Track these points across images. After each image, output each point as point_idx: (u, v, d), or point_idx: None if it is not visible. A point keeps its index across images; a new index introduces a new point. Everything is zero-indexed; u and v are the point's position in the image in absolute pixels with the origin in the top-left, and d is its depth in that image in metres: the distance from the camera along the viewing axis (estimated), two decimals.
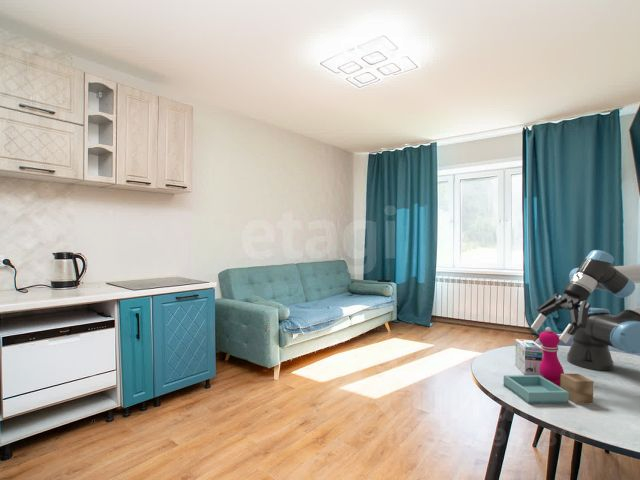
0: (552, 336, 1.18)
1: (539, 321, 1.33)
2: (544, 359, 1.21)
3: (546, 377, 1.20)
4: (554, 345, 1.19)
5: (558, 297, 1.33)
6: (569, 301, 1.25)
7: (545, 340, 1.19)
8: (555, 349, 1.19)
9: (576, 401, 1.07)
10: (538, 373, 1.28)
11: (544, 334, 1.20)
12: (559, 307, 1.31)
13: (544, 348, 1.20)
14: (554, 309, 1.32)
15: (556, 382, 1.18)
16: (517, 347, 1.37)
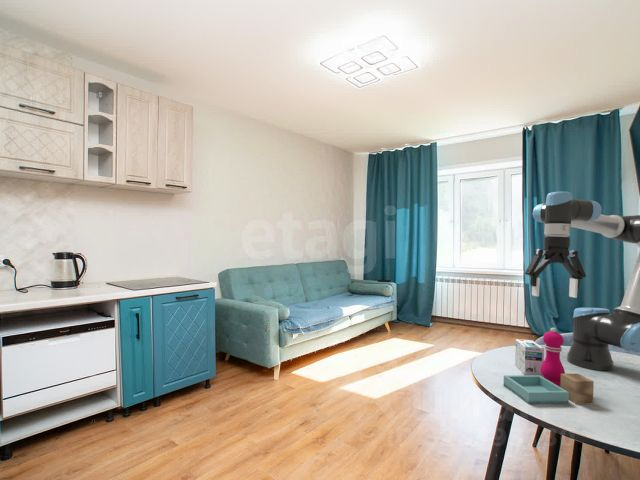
0: (556, 336, 1.19)
1: None
2: (546, 359, 1.21)
3: (547, 377, 1.20)
4: (558, 345, 1.19)
5: None
6: (564, 256, 1.20)
7: (549, 340, 1.19)
8: (558, 350, 1.19)
9: (576, 401, 1.07)
10: (538, 373, 1.28)
11: (549, 334, 1.20)
12: None
13: (547, 348, 1.20)
14: None
15: (557, 383, 1.18)
16: (517, 347, 1.37)
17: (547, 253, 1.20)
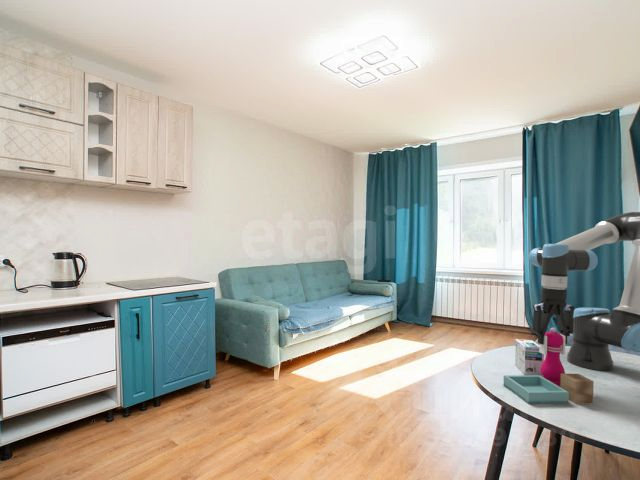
0: (556, 336, 1.19)
1: None
2: (546, 359, 1.21)
3: (547, 377, 1.20)
4: (558, 345, 1.19)
5: (541, 307, 1.20)
6: (561, 309, 1.19)
7: (549, 340, 1.19)
8: (558, 350, 1.19)
9: (576, 401, 1.07)
10: (538, 373, 1.28)
11: (549, 334, 1.20)
12: None
13: (547, 348, 1.20)
14: None
15: (557, 383, 1.18)
16: (517, 347, 1.37)
17: (545, 306, 1.20)
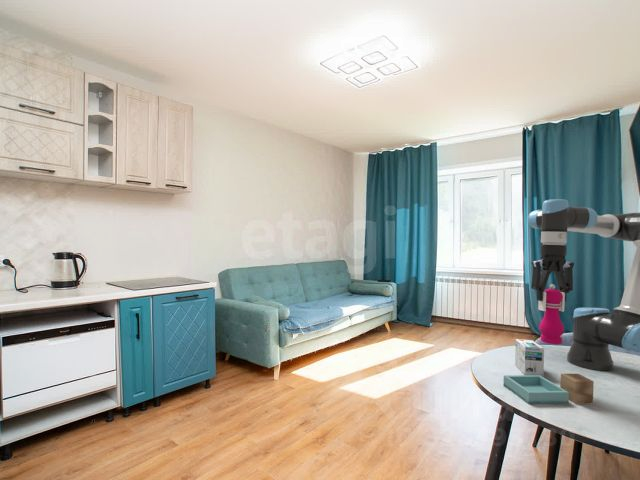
0: (555, 292, 1.18)
1: None
2: (545, 316, 1.20)
3: (546, 334, 1.19)
4: (557, 302, 1.18)
5: (540, 263, 1.19)
6: (560, 265, 1.18)
7: (548, 296, 1.18)
8: (557, 306, 1.18)
9: (576, 401, 1.07)
10: (538, 373, 1.28)
11: (548, 290, 1.19)
12: None
13: (546, 305, 1.19)
14: None
15: (555, 339, 1.17)
16: (517, 347, 1.37)
17: (544, 262, 1.19)
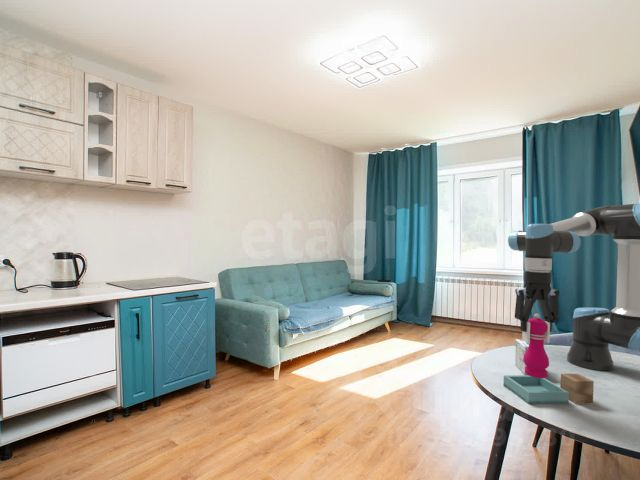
0: (540, 322, 1.10)
1: None
2: (529, 347, 1.13)
3: (530, 367, 1.12)
4: (541, 333, 1.10)
5: (523, 292, 1.12)
6: (545, 293, 1.11)
7: (532, 326, 1.11)
8: (542, 337, 1.10)
9: (576, 401, 1.08)
10: None
11: (532, 320, 1.12)
12: None
13: (530, 335, 1.12)
14: None
15: (540, 372, 1.10)
16: (517, 347, 1.37)
17: (528, 291, 1.12)
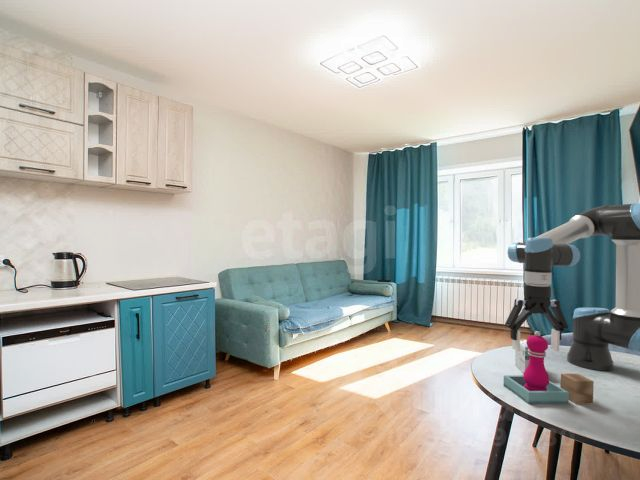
0: (540, 340, 1.11)
1: None
2: (530, 365, 1.13)
3: (530, 384, 1.12)
4: (542, 350, 1.11)
5: None
6: (546, 307, 1.11)
7: (533, 344, 1.11)
8: (542, 355, 1.11)
9: (576, 401, 1.08)
10: None
11: (532, 338, 1.12)
12: None
13: (531, 353, 1.12)
14: None
15: (540, 390, 1.10)
16: None
17: (527, 304, 1.12)
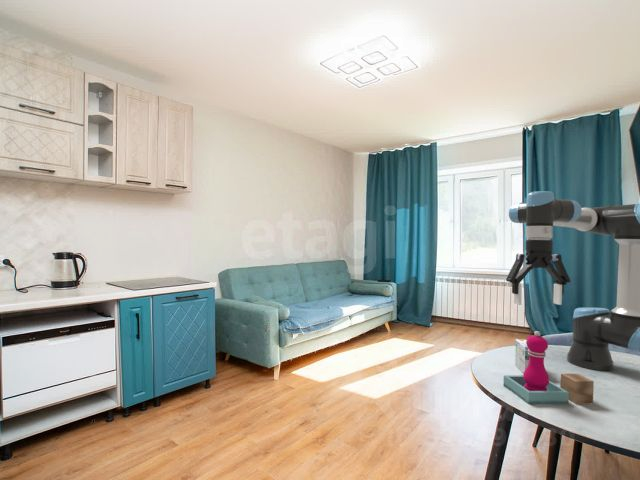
0: (540, 340, 1.11)
1: None
2: (529, 365, 1.13)
3: (530, 384, 1.12)
4: (542, 350, 1.11)
5: (524, 257, 1.12)
6: (547, 261, 1.11)
7: (532, 344, 1.11)
8: (542, 355, 1.11)
9: (576, 401, 1.08)
10: None
11: (532, 338, 1.12)
12: None
13: (531, 353, 1.12)
14: None
15: (540, 390, 1.10)
16: (517, 347, 1.37)
17: (529, 258, 1.12)
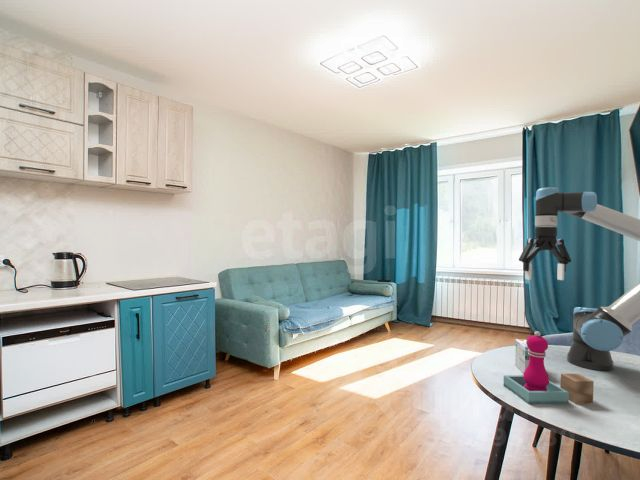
0: (540, 340, 1.11)
1: None
2: (530, 365, 1.13)
3: (530, 384, 1.12)
4: (542, 350, 1.11)
5: None
6: (553, 244, 1.37)
7: (532, 344, 1.11)
8: (542, 355, 1.11)
9: (576, 401, 1.08)
10: None
11: (532, 338, 1.12)
12: None
13: (531, 353, 1.12)
14: None
15: (540, 390, 1.10)
16: (517, 347, 1.37)
17: (537, 242, 1.37)
